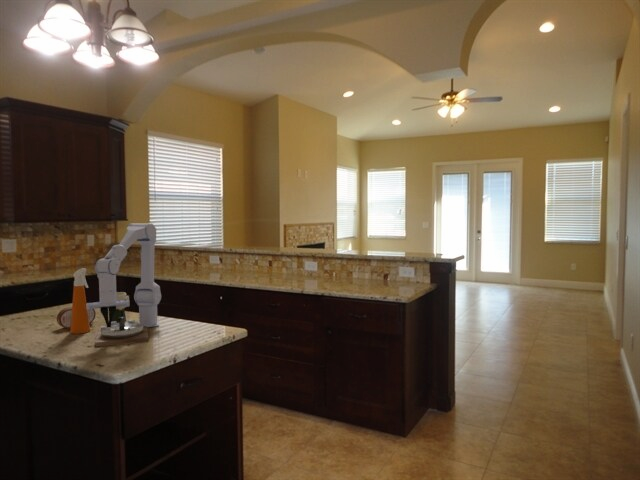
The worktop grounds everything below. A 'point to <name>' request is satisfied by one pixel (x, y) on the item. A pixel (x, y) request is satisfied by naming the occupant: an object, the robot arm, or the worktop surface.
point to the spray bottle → (79, 304)
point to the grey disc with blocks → (122, 329)
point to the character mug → (119, 310)
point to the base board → (121, 339)
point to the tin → (66, 315)
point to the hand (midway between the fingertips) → (108, 326)
